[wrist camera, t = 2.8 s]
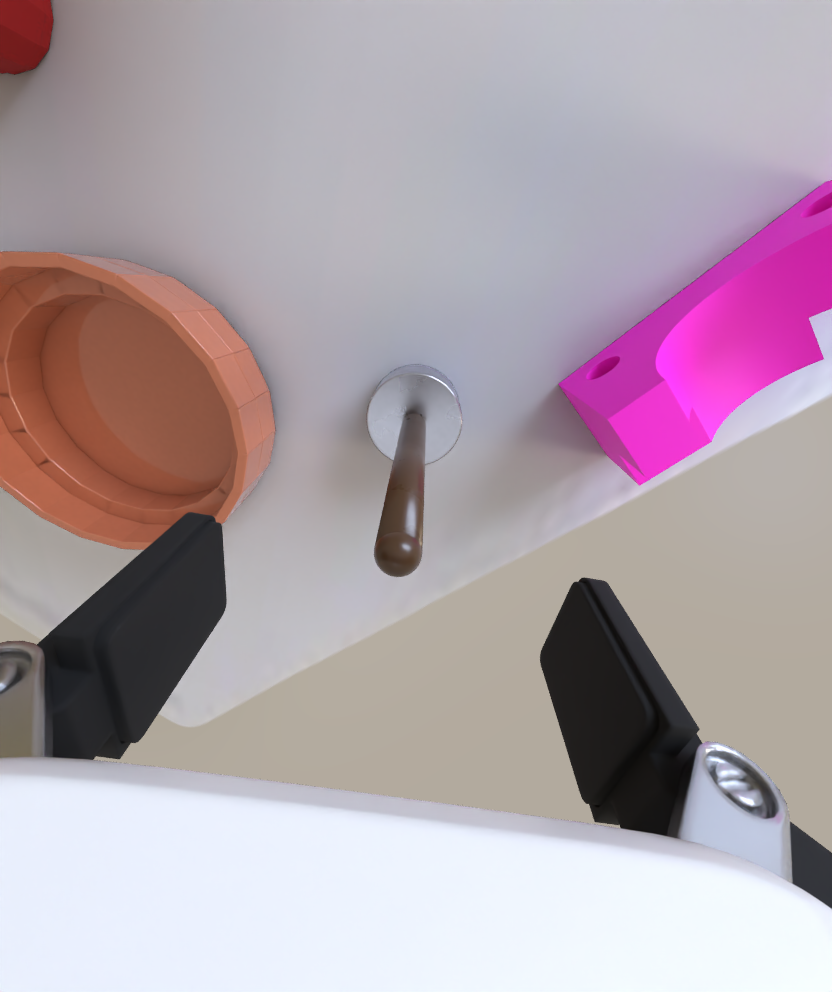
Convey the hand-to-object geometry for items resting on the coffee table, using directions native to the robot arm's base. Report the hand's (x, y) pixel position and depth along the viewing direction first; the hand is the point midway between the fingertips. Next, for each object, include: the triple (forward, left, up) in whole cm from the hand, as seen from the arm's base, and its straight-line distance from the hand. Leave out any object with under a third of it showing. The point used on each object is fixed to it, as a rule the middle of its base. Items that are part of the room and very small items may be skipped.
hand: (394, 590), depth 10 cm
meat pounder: (0, 0, -17) cm, 17 cm away
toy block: (+6, +16, -17) cm, 24 cm away
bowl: (-10, -14, -17) cm, 24 cm away
